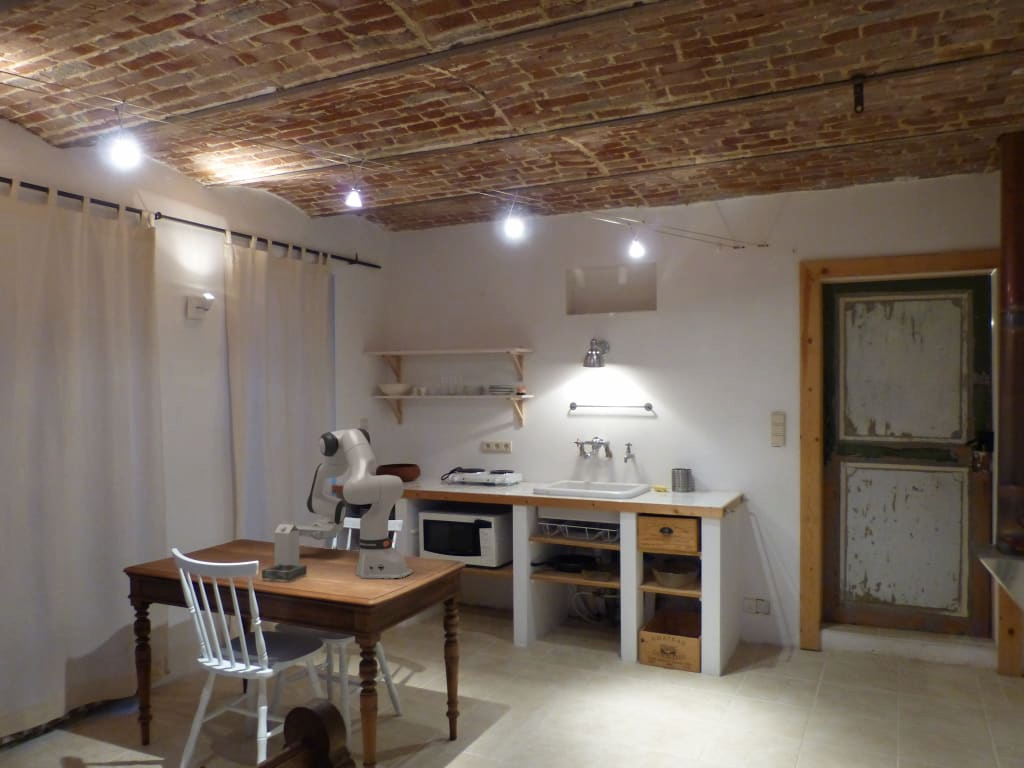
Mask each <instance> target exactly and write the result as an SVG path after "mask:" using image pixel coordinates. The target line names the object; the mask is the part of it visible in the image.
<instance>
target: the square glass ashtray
mask: <svg viewBox="0 0 1024 768" xmlns="http://www.w3.org/2000/svg"><path fill="white" fill-rule="evenodd" d="M305 575H306V576H307V565H306V564H304V565H303V564H302V565H301V564H299V565H290V564H278V565H276V566H275V565H273V566H271V567H270V566H269V567H268V568H265V569H262V570H261V581H262V580H269V581H268V582H273V581H284V582H283V583H286V582H290V581H292V582H294V581H293V580H295V581H297V580H299V579H298V578H300V577H302V578H304V577H303V576H305ZM306 576H305V577H306ZM296 579H297V580H296ZM300 579H301V578H300ZM290 583H291V582H290Z"/></svg>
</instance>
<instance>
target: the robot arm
mask: <svg viewBox="0 0 1024 768" xmlns="http://www.w3.org/2000/svg"><path fill="white" fill-rule="evenodd" d="M318 441H319V443H318V446H319V447H318V448H319V451H320V453H321V454H322V455H323V462H322V463H320V464H318V466H317V467H316V469H315V471H314V472H315V473H314V476H313V480H312V484H311V489H310V492H309V495H308V498H307V500H306V507H307V510H308V511H309V513H312V514H314V515H315V514H316V515H319V516H322V518H319V519H317V520H314V521H311V523H310V525H295V526H296V527H297V528H298V530H299V537H307V538H313V539H314V540H318V541H320V540H324V539H336V538H337V534H338V533H339V532H341V531H342V530H343V529H344V525H345V521H344V520H345V519H346V516H347V512H348V509H347V504H346V502H347V503H348V504H352V505H361V506H362V505H368V504H369V505H371V507H370V508H369V510H368V511H367V512H366V513H364V514H363V515H362V516H361V517H360V519H359V539H358V551H359V553H358V554H359V556H358V563H357V568H356V571H355V574H356V575H357V576H358V577H360V578H361V579H382V578H384V580H385V579H387V580H388V579H389V578H390V579H391V580H392V579H393V580H395V579H394V578H399V579H403V578H406V577H408V576H407V575H409V574H410V575H412V574H413V573H412V572H413V569H412V568H408V565H407V560H406V557H405V556H404V555H403V554H401V553H400V552H399V551H397V550H396V549H395V547H393V543H394V540H395V539H390V537H389V519H390V518H389V517H390V514H391V512H392V510H393V507H394V506H395V504H396V502H398V501H399V500H400V498H402V496H403V494H404V491H405V486H404V482H403V480H402V478H401V477H400V476H397V475H393V474H392V475H391V474H382V475H372V472H373V471H374V470H375V469H376V466H377V459H376V456H375V454H374V452H373V449H372V447H371V435H370V434H369V432H368V431H367V429H364V428H359V427H358V428H351V429H350V428H349V429H348V428H347V429H340V430H334V431H327V432H326V433H323V434H321V436H320V438H319V440H318ZM348 470H349V471H350V474H349V477H348V478H347V480H346V481H345V483H344V484H343V488H342V496H343V497H344V499H341V498H338V497H335V496H332V495H329V494H327V493H325V492H324V491H323V488H324V485H325V481H326V479H336V478H339V477H341V476H344V475H345V474H346V473H347V472H348ZM411 573H412V574H411ZM410 575H409V576H410ZM405 576H406V577H405ZM402 577H403V578H402Z"/></svg>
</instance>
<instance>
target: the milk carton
mask: <svg viewBox="0 0 1024 768" xmlns="http://www.w3.org/2000/svg"><path fill="white" fill-rule="evenodd" d="M296 526H297V525H295V522H294V521H285V520H284V521H282V520H281V521H279V525H278V526H277V528H276V530H275V531H274V566H276V565H278V564H290V565H300V536H299V530H298V528H297V527H296Z"/></svg>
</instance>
